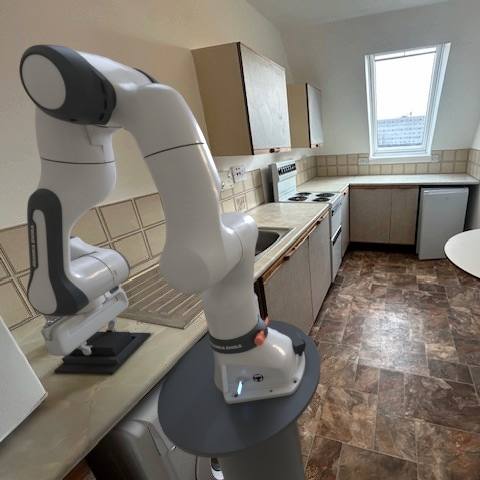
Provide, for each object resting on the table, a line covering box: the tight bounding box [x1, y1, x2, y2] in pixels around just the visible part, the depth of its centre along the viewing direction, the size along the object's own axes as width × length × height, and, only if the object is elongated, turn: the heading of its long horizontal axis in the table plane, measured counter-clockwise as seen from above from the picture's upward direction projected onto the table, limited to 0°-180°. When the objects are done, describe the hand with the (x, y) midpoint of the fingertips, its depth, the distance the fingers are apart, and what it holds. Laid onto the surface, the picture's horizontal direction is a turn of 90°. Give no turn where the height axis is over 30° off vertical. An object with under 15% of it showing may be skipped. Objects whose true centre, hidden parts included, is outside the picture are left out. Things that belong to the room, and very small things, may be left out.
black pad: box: [72, 331, 132, 357], centre depth 72 cm, size 12×6×3 cm, turn 85°
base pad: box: [53, 332, 152, 375], centre depth 72 cm, size 16×14×2 cm
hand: (102, 342), depth 72 cm, fingers closed on black pad, 6 cm apart
